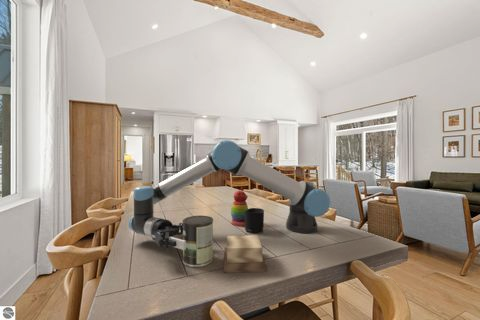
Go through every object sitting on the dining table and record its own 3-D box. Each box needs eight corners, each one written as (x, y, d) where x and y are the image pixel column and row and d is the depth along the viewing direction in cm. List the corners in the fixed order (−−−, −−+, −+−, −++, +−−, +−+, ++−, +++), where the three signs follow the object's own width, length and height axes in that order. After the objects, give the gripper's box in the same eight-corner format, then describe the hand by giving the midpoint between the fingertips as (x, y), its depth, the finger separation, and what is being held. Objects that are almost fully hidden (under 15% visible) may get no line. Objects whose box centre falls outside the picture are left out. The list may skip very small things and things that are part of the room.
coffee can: (180, 268, 69) (180, 224, 69) (185, 254, 80) (185, 215, 79) (212, 266, 70) (212, 223, 70) (213, 253, 80) (213, 215, 80)
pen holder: (241, 228, 108) (241, 208, 108) (259, 226, 111) (259, 207, 111) (248, 235, 99) (248, 213, 99) (267, 232, 102) (267, 211, 102)
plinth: (259, 253, 80) (259, 234, 80) (266, 271, 67) (266, 248, 67) (224, 254, 79) (224, 235, 79) (224, 272, 66) (223, 249, 66)
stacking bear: (248, 227, 110) (247, 192, 110) (228, 226, 112) (228, 191, 112) (251, 221, 121) (251, 189, 121) (233, 220, 123) (233, 188, 123)
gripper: (182, 229, 96) (221, 238, 85) (128, 249, 75) (170, 264, 63) (182, 212, 96) (221, 218, 85) (128, 227, 75) (170, 239, 63)
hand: (199, 238), depth 74 cm, fingers open, 13 cm apart
